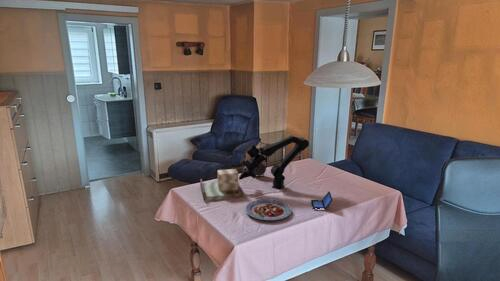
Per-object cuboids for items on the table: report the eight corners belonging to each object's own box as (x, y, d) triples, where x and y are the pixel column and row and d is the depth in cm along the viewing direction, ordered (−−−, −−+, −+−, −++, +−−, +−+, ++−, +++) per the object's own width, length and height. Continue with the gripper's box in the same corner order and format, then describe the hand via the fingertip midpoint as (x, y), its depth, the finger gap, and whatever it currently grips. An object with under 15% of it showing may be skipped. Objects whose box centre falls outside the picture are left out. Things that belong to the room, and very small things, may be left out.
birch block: (235, 184, 212) (235, 168, 210) (238, 189, 205) (238, 173, 202) (217, 186, 210) (217, 170, 207) (219, 190, 202) (219, 174, 199)
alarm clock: (266, 175, 237) (266, 154, 233) (265, 178, 232) (266, 156, 228) (251, 174, 238) (251, 153, 234) (250, 177, 233) (250, 155, 229)
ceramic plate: (272, 198, 199) (273, 194, 198) (300, 215, 178) (301, 210, 177) (236, 208, 185) (236, 203, 184) (262, 228, 164) (262, 223, 163)
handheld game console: (310, 201, 196) (311, 189, 194) (328, 202, 195) (329, 190, 193) (312, 210, 184) (313, 198, 182) (331, 211, 183) (332, 199, 181)
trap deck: (237, 183, 220) (237, 176, 219) (244, 197, 200) (244, 188, 198) (200, 186, 214) (200, 179, 213) (203, 200, 194) (203, 192, 192)
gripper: (244, 149, 214) (228, 166, 214) (251, 158, 196) (233, 176, 196) (255, 160, 217) (239, 177, 218) (263, 169, 200) (245, 187, 200)
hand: (239, 179), depth 208 cm, fingers closed
